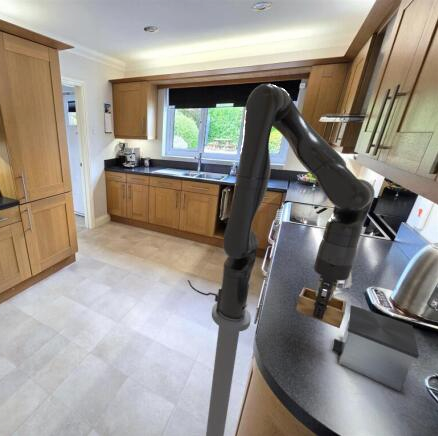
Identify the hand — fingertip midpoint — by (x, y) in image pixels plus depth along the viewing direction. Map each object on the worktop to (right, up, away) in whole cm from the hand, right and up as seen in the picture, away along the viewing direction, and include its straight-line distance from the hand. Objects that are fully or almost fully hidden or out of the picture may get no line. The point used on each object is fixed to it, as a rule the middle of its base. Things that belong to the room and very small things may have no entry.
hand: (319, 311), depth 67 cm
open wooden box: (0, -1, 0) cm, 1 cm away
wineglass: (+18, -8, +21) cm, 29 cm away
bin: (+14, -14, 0) cm, 20 cm away
